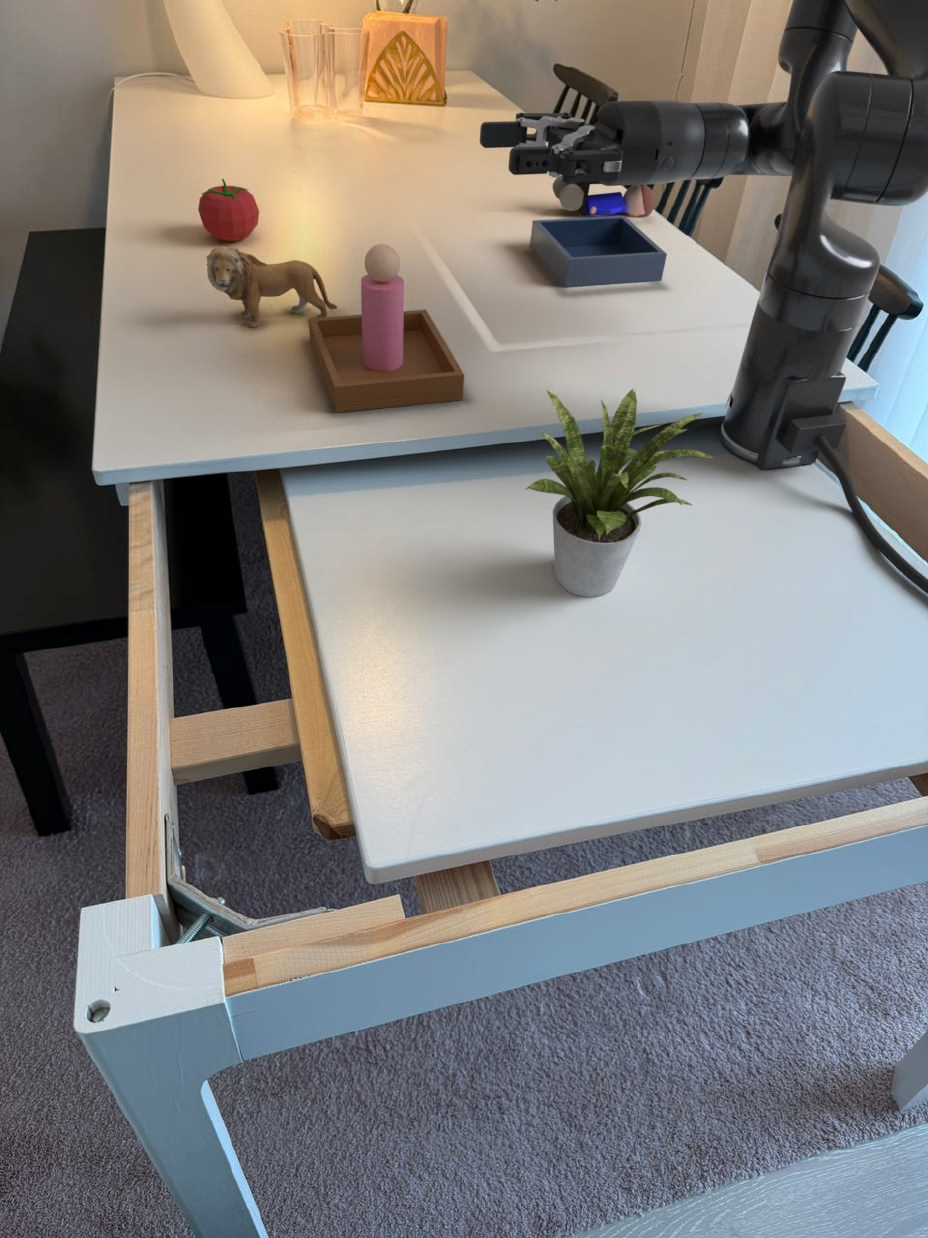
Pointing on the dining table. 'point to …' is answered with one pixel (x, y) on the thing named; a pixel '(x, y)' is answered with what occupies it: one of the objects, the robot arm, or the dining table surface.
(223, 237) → the tomato
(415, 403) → the tray
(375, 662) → the dining table surface
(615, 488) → the house plant
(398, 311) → the doll
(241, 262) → the lion figurine
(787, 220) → the robot arm
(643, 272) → the blue square open box
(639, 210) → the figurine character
